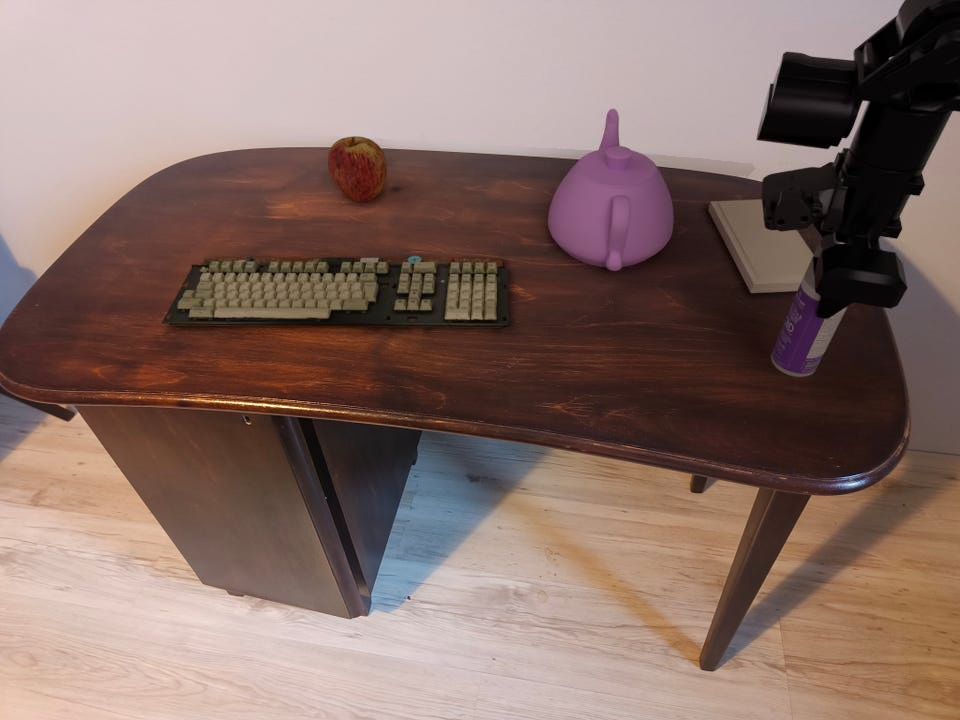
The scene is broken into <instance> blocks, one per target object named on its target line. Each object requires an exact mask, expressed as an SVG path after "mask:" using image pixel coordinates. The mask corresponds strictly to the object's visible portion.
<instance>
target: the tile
mask: <svg viewBox="0 0 960 720" xmlns="http://www.w3.org/2000/svg"><path fill="white" fill-rule="evenodd" d="M708 213H709V215H710V217H711V219H712V220H713V223H714V224H715V226H716V228H717V230H718V232H719V234H720V236H721V238H722V240H723V242H724V244H725V246H726V248H727V250H728V252H729V253H730V255H731V257H732V260H733V262H734V263H735V265H736V267H737V270H738V272H739V273H740V275H741V277H742V279H743V280H744V283H745V284H746V286H747V288H748V291H749V293H750V294H762V293H763V294H764V293H787V292H789V293H790V292H797V291H798V288H799V286H800V284H801V281H802V279H803V277H804V275H805V273H806V271H807V268H808V266H809V264H810V262H811V260H812V257H813V255H814V253H813V252H812V250H811V248H810V247H809V246H808V244H807V243H806V241H805V240H804V239H803V237H802V235H801V234H800V233H799V231H798V230H791V231H783V232H780V231H778V230H768V229H766V228H765V224H764V215H763V206H762V198H759V199H758V198H756V199H737V200H736V199H735V200H734V199H733V200H712V201H710V202H709V206H708Z"/></svg>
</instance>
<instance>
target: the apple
mask: <svg viewBox="0 0 960 720" xmlns="http://www.w3.org/2000/svg"><path fill="white" fill-rule="evenodd" d="M327 169H328V173H329V176H330V179H331V181H332V182H333V185H334V186H335V187H336V188H337V189H338V190H339V191H340V192H341V193H342V194H343V195H344V196H345V197H347V198H348V199H350V200H352V201H355V202H359V203H365V202H370V201H373V200H374V199H376V198H377V197H378V196H380V193H381V192H382V190H383V188H384V185H385V182H386V178H387V174H388V164H387V160H386V156H385V153H384V150H383V149H382V148H381V145H380V144H378V143H376V142H375V141H374V140H372V139H370V138H367V137H364V136H358V135H357V136H356V135H355V136H347V137H343V138H339V139H337V141H335V142H334V143H333V144H332V145H331V146H330V149H329V151H328V154H327Z"/></svg>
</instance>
